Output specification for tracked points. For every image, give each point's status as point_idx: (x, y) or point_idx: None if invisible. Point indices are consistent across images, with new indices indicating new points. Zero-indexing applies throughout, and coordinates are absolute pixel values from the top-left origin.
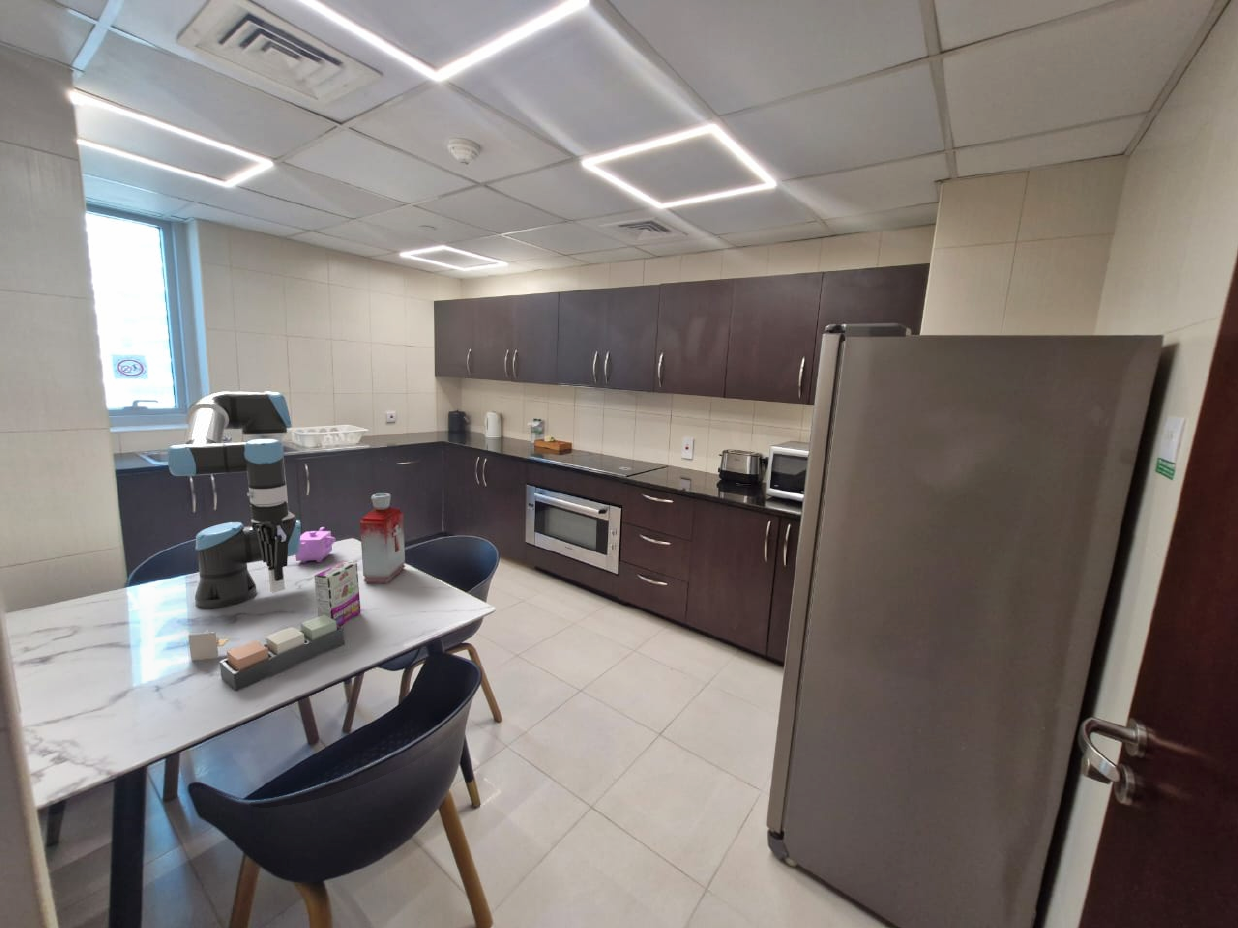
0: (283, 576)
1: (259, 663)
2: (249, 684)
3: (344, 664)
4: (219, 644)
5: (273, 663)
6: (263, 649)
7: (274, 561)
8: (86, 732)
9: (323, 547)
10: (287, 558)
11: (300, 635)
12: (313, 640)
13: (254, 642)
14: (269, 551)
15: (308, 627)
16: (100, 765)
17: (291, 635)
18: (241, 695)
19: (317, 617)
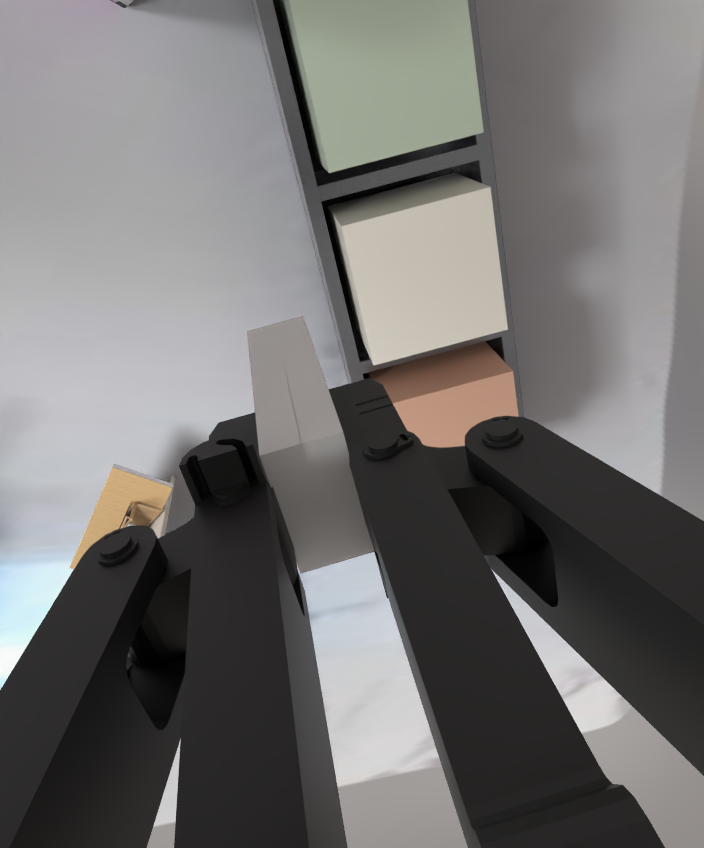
0: (320, 370)
1: (519, 388)
2: None
3: (642, 12)
4: (159, 499)
5: None
6: (510, 387)
7: (533, 609)
8: (422, 715)
9: None
10: (620, 474)
11: (491, 206)
12: (484, 130)
13: (403, 414)
14: (320, 741)
15: (421, 141)
16: (597, 673)
17: (458, 250)
18: (541, 419)
19: (307, 48)
